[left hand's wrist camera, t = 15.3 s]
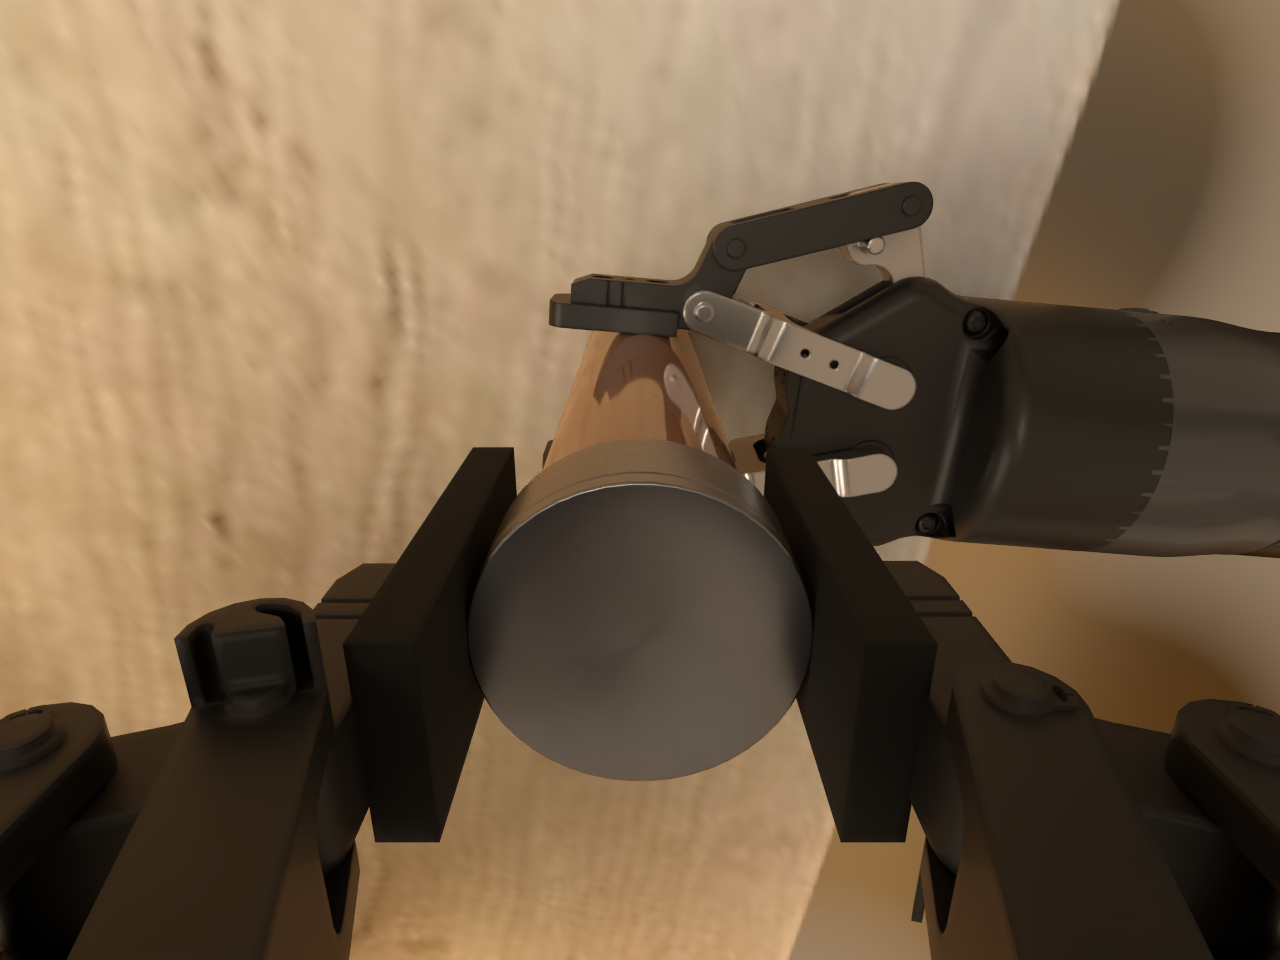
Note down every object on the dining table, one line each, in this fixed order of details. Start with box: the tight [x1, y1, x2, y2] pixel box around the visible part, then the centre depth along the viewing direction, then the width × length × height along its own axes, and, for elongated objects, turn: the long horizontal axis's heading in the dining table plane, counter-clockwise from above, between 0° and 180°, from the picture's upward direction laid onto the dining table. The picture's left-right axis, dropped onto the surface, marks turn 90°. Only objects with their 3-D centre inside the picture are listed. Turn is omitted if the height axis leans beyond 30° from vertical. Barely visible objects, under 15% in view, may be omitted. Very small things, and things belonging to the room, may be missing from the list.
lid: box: [467, 439, 814, 781], centre depth 11 cm, size 5×5×2 cm
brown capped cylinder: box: [543, 329, 738, 471], centre depth 20 cm, size 4×4×19 cm
